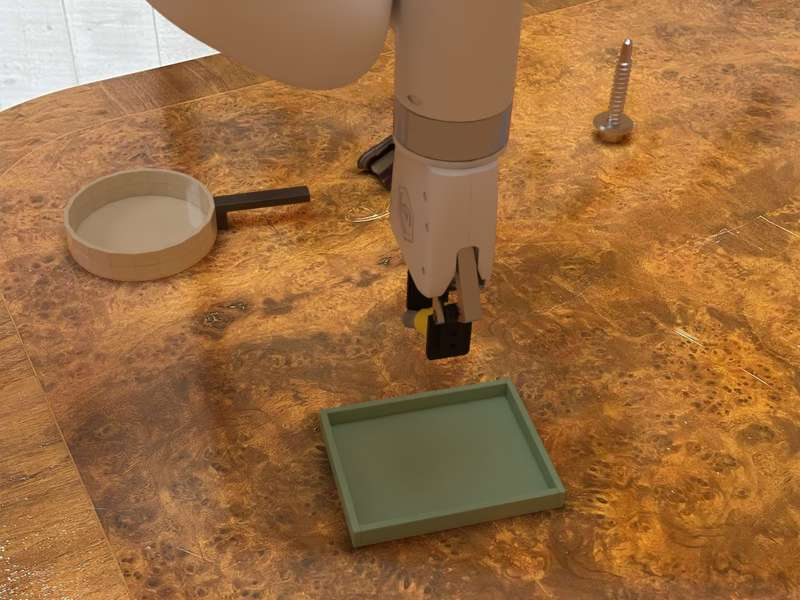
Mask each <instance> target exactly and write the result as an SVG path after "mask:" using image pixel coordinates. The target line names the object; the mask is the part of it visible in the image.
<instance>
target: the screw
mask: <svg viewBox="0 0 800 600" xmlns="http://www.w3.org/2000/svg"><path fill="white" fill-rule="evenodd" d="M633 46H634V45H633V40H632V39H631V38H629V37H628V38H625V40H624V41H623V43H622V45H621V47H620V51H619V55H618V56H617V59H618V60H616V62H615V63H616V65H615V66H614V67H615V69H614V71H613V72H614V74H613V79H612V82H613V83H612V84H611V86H612V88H611V89H610V91H611V92H610V95H609V96H610V97H609V102H608V104H609V105H608V106H607V109H608V110H605V111H602V112H599V113H597V114H596V115H594V116H593V119H592V125H593V127H594V128H595V129H596V130H597V131H598V132H599V133H598V134H599V137H600V139H601V140H602V141H603V142H605V143H606V142H607V143H610V144H611V143H612V144H616V143H618V142H620V141H622V140H623V138H624V135H627V134H630V133H631V132H632V131H633V130H634V128H635V127H634V126H635V123H634V121H633V119H632V118H630V116H628V114H625V113H624V109H625V105H626V99H627V95H628V92H627V91H628V89H629V88H628V87H629V86H630V85H629V82H630V77H631V72H632V67H633V64H632V63H633V60H632V54H633Z"/></svg>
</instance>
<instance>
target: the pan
mask: <svg viewBox="0 0 800 600" xmlns="http://www.w3.org/2000/svg"><path fill="white" fill-rule="evenodd" d="M213 197H214V196H213V193H212V191H211V190H210V189H209V188H208V187H207V186H206V185H205V184H204V183H203V181H200V180H199V179H197V178H195V177H194V176H192V175H189V174H188V173H184V172H180V171H176V170H172V169H168V168H156V167H155V168H152V167H142V168H133V169H124V170H120V171H116V172H113V173H109V174H106V175H103V176H100V177H99V178H97V179H95V180H92V181H91V182H89V183H87V184H85V185H83V186H82V187H81V188H80V189H79V190H77V191H76V192H75V193H74V194H73V195H72V196H70V198H69V200H68V201H67V203H66V205H65V207H64V210H63V226H64V232H65V236H66V240H67V246H68V251H69V252H70V254H71V256H72V258H73V259H74V261H75V262H76V263H77V264H78V265H79V266H80V267H81V268H82V269H84V270H85V271H87V272H89V273H91V274H93V275H95V276H98V277H100V278H104V279H107V280H112V281H119V282H146V281H155V280H159V279H163V278H168V277H171V276H173V275H176V274H179V273H181V272H184V271H186V270H188V269H190V268H192V267H193V266H195V265H197V263H199V262H201V261H202V260H203V259H204V258H205V257H206V256H207V255H208V254H209V252H211V250H212V249H213V247H214V245H215V243H216V239H217V235H218V234H217V233H218V230H217V222H216V212H215V204H214V200H213Z"/></svg>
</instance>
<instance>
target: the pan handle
mask: <svg viewBox="0 0 800 600" xmlns="http://www.w3.org/2000/svg"><path fill="white" fill-rule="evenodd" d="M213 200H214V204H215V212H216V222H217V231H220V230H227V229H229V222H228V221H229V220H228V213H233V212H240V211H247V210H248V211H249V210H257V209H265V208H273V207H281V206H288V205H289V206H290V205H298V204H306V203H310V202H311V193H310V190H309V187H308V185H298V186H290V187H281V188H274V189H265V190H257V191H247V192H239V193H232V194H224V195H216V196H215V195H214V196H213Z"/></svg>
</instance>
